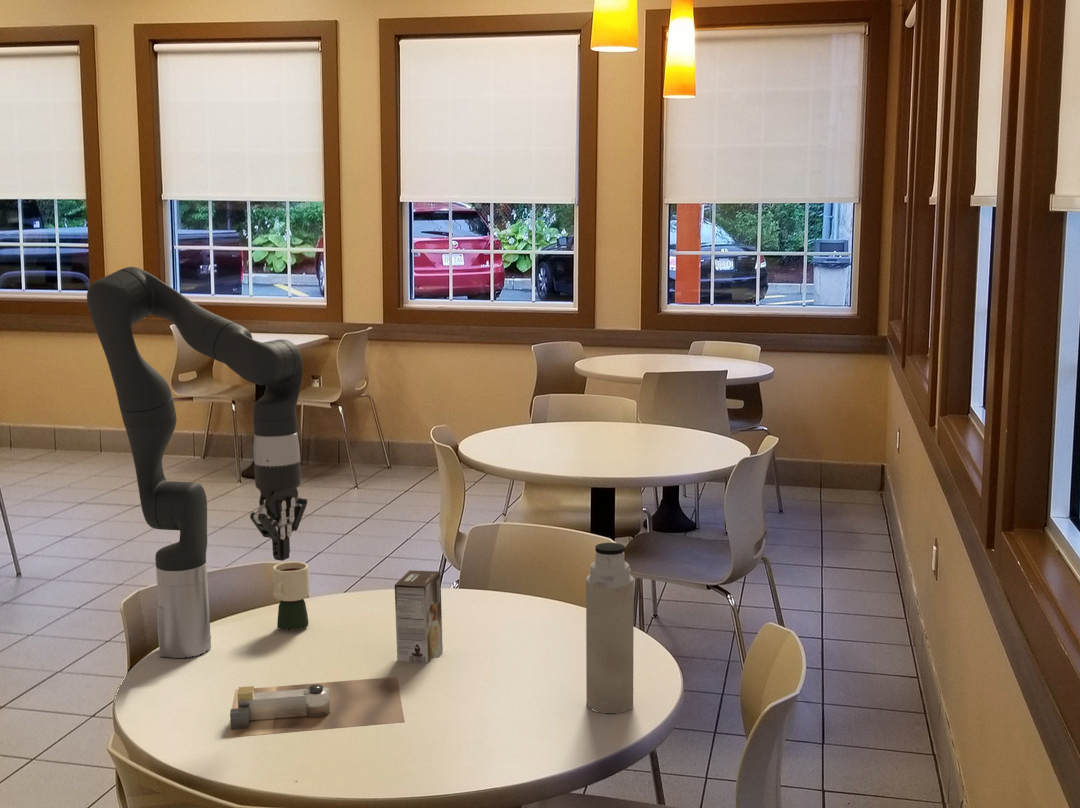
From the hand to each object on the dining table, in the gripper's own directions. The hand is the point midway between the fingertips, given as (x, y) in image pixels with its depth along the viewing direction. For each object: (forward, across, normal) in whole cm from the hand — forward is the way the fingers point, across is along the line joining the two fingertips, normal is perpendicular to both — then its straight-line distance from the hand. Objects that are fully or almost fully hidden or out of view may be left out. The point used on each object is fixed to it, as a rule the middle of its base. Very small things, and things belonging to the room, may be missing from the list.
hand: (281, 558), depth 196 cm
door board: (+25, -3, -8) cm, 26 cm away
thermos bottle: (+25, +20, -52) cm, 61 cm away
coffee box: (+25, +25, -12) cm, 37 cm away
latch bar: (+24, -8, -6) cm, 26 cm away
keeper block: (+24, -15, -2) cm, 28 cm away
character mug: (+25, +28, +21) cm, 43 cm away
